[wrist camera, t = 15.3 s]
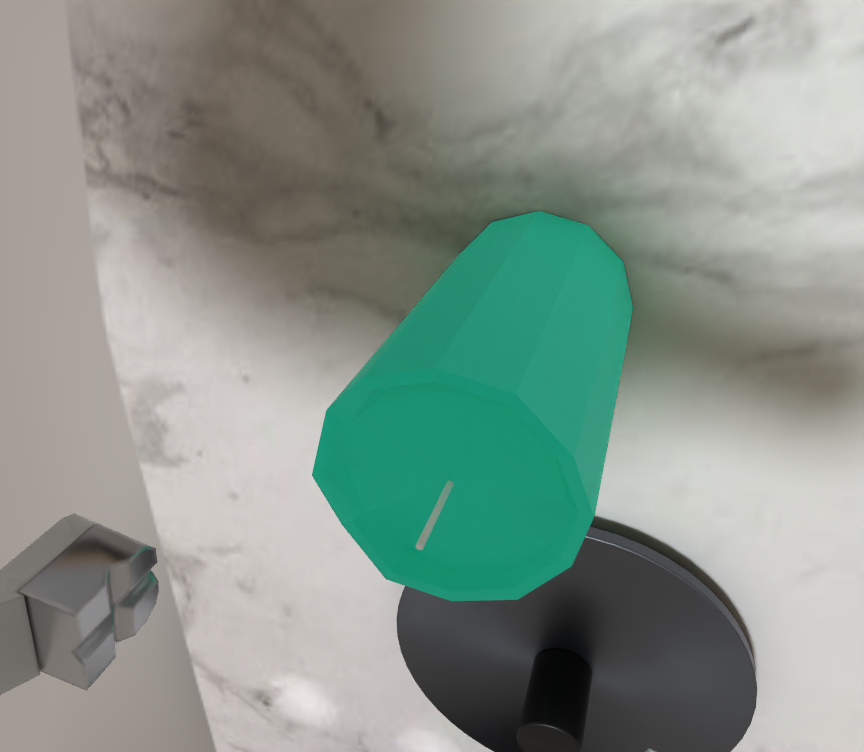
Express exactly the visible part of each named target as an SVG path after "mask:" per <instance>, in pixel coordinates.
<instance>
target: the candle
mask: <svg viewBox="0 0 864 752" xmlns="http://www.w3.org/2000/svg"><path fill="white" fill-rule="evenodd" d="M632 311H633V305H632V300H631V296H630V291H629V286H628V282H627V277H626V272H625V268H624V263H623V261H622V260H621V259H620V258H619V257H618V256H617V255H616V254H615V253H614V251H613V250H612V249H611V248H610V247H609V246H608V245H607V244H606V243H605V242H604V241H603V240H602V239H601V238H600V237H599V236H598V235H597V234H596V233H595V232H594V231H593V230H592V228H591V227H590V226H589V225H586V224H583V223H579V222H576V221H572V220H569V219H566V218H562V217H559V216H555V215H552V214H549V213H545V212H542V211H536V212H532V213H527V214H523V215H519V216H515V217H511V218H506V219H502V220H498V221H494V222H491V223H490V224H489V225H488V226H487V227H486V228H485V229H484V230H483V231H482V232H481V233H480V234H479V235H478V236H477V237H476V238H475V239H474V240H473V241H472V242H471V243H470V244H469V245H468V246H467V247H466V248H465V249H464V250H463V251H462V252H461V253H460V254H459V255H458V256H457V258H456V259H455V260H454V261H453V262H452V263H451V265H450V266H449V267H448V268H447V269H446V270H445V272H444V273H443V274H442V275H441V276H440V278H439V279H438V280H437V281H436V282H435V283H434V285H433V286H432V287H431V288H430V289H429V290H428V292H427V293H426V294H425V295H424V296H423V297H422V299H421V300H420V301H419V302H418V303H417V305H416V306H415V307H414V308H413V309H412V310H411V312H410V313H409V314H408V315H407V316H406V317H405V319H404V320H403V321H402V322H401V323H400V325H399V326H398V327H397V328H396V329H395V330H394V332H393V333H392V334H391V335H390V336H389V337H388V339H387V340H386V341H385V342H384V343H383V344H382V346H381V347H380V348H379V349H378V350H377V352H376V353H375V354H374V355H373V356H372V357H371V359H370V360H369V361H368V362H367V363H366V364H365V366H364V367H363V368H362V369H361V370H360V372H359V373H358V374H357V375H356V376H355V377H354V379H353V380H352V381H351V382H350V383H349V384H348V386H347V387H346V388H345V389H344V390H343V391H342V393H341V394H340V395H339V396H338V397H337V399H336V400H335V401H334V402H333V403H332V404H331V406H330V407H329V408H328V409H327V410H326V415H325V419H324V424H323V428H322V432H321V437H320V441H319V446H318V450H317V455H316V459H315V464H314V468H313V473H312V476H313V478H314V479H315V481H316V483H317V484H318V486H319V488H320V489H321V491H322V493H323V494H324V496H325V497H326V499H327V501H328V502H329V504H330V506H331V507H332V509H333V511H334V512H335V514H336V515H337V517H338V519H339V520H340V522H341V524H342V525H343V526H344V528H345V529H346V530H347V531H348V533H349V534H350V535H351V536H352V538H353V539H354V540H355V541H356V542H357V544H358V545H359V546H360V547H361V549H362V550H363V551H364V552H365V554H366V555H367V556H368V557H369V559H370V560H371V561H372V562H373V563H374V565H375V566H376V567H377V568H378V570H379V571H380V572H381V573H382V575H383V576H384V577H385V578H386V579H387V580H390V581H393V582H396V583H399V584H402V585H405V586H408V587H411V588H414V589H417V590H420V591H423V592H426V593H429V594H432V595H435V596H438V597H440V598H443V599H446V600H449V601H483V600H518V599H520V598H521V597H523V596H524V595H526V594H528V593H529V592H531V591H533V590H534V589H536V588H537V587H539V586H541V585H542V584H544V583H545V582H547V581H549V580H550V579H552V578H553V577H555V576H557V575H558V574H560V573H562V572H563V571H565V570H566V569H568V568H570V567H571V566H572V564H573V562H574V560H575V558H576V556H577V553H578V551H579V549H580V547H581V545H582V543H583V540H584V538H585V536H586V534H587V532H588V530H589V527H590V525H591V523H592V521H593V519H594V516H595V511H596V505H597V500H598V494H599V489H600V484H601V478H602V473H603V467H604V462H605V457H606V451H607V446H608V441H609V435H610V430H611V424H612V419H613V414H614V408H615V403H616V398H617V392H618V387H619V381H620V376H621V371H622V365H623V360H624V354H625V349H626V344H627V338H628V333H629V328H630V322H631V317H632Z"/></svg>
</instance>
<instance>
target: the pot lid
mask: <svg viewBox="0 0 864 752" xmlns="http://www.w3.org/2000/svg"><path fill="white" fill-rule="evenodd" d="M397 633H398V640H399V644H400V648H401V652H402V655H403V657H404V660H405V662H406V665H407V667H408V669H409V671H410V673H411V674H412V676H413V678H414V680H415V682H416V683H417V684H418V686H419V687H420V689H421V690H422V691H423V693H424V694H425V696H426V697H427V698H428V699H429V700H430V701H431V702H432V704H433V705H434V706H435V707H436V708H437V709H438V710H439V711H440V712H441V713H442V714H443V715H444V716H445V717H446V718H447V719H448V720H449V721H450V722H452V723H453V724H454V725H455V726H457V727H458V728H459V729H460V730H462V731H463V732H464V733H466V734H467V735H468V736H470V737H471V738H473V739H474V740H476V741H477V742H479V743H480V744H482V745H483V746H485V747H487V748H489V749H490V750H492V751H494V752H643V751H644V750H646V749H647V748H650V749H652V750H655V751H658V752H731V751H732V750H733V749H734V747H735V746H736V745H737V744H738V743H739V742H740V740H741V739H742V738H743V736H744V734H745V733H746V731H747V729H748V727H749V726H750V724H751V721H752V718H753V714H754V711H755V708H756V698H757V682H756V673H755V665H754V660H753V657H752V654H751V650H750V647H749V644H748V642H747V640H746V638H745V636H744V634H743V632H742V630H741V628H740V626H739V624H738V623H737V621H736V620H735V619H734V617H733V616H732V615H731V613H730V612H729V610H728V609H727V608H726V606H725V605H724V604H723V603H722V602H721V601H720V600H719V599H718V598H717V596H716V595H715V594H714V593H713V592H712V591H711V590H710V589H709V588H708V587H707V586H706V585H704V584H703V583H702V582H701V581H699V580H698V579H697V578H696V577H695V576H693V575H692V574H691V573H690V572H689V571H687V570H686V569H684V568H683V567H681V566H680V565H678V564H676V563H675V562H673V561H672V560H670V559H669V558H667V557H666V556H664V555H662V554H660V553H658V552H656V551H654V550H652V549H650V548H648V547H646V546H644V545H642V544H640V543H637V542H635V541H632V540H630V539H627V538H625V537H622V536H620V535H617V534H614V533H611V532H607V531H604V530H600V529H597V528H593V527H589V530H588V532H587V534H586V536H585V538H584V540H583V543H582V545H581V547H580V549H579V551H578V553H577V556H576V558H575V560H574V562H573V564H572V566H571V567H570V568H568V569H566V570H565V571H563V572H562V573H560V574H558V575H557V576H555V577H553V578H552V579H550V580H549V581H547V582H545V583H544V584H542V585H541V586H539V587H537V588H536V589H534V590H533V591H531V592H529V593H528V594H526V595H524V596H523V597H521V598H520V599H518V600H483V601H449V600H446V599H443V598H440V597H438V596H435V595H432V594H429V593H426V592H423V591H420V590H417V589H414V588H411V587H408V586H405V588H404V590H403V592H402V596H401V599H400V602H399V605H398V613H397Z"/></svg>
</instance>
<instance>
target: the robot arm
mask: <svg viewBox="0 0 864 752" xmlns="http://www.w3.org/2000/svg"><path fill="white" fill-rule="evenodd" d="M156 563H157V556H156V548H154V547H151V546H149V545H147V544H145V543H142V542H140V541H138V540H135V539H133V538H131V537H128V536H126V535H124V534H121V533H119V532H117V531H114V530H112V529H110V528H107V527H105V526H103V525H101V524H98V523H96V522H94V521H91V520H89V519H86V518H84V517H82V516H79V515H77V514H72V515H69V516H67V517H64V518H62V519H61V520H60V521H58V522H57V523H56V524H55V525H54V526H53V527H51V528H50V529H49V530H48V531H46V532H45V533H44V534H43V535H42V536H41V537H40V538H38V539H37V540H36V541H34V542H33V543H32V544H31V545H30V546H28V547H27V548H26V549H25V550H24V551H22V552H21V553H20V554H19V555H18V556H16V557H15V558H14V559H13V560H12V561H11V562H9V563H8V564H7V565H6V566H5V567H3V568H2V569H1V570H0V695H1V694H3V693H5V692H7V691H9V690H11V689H13V688H15V687H16V686H19V685H21V684H22V683H24V682H26V681H28V680H30V679H32V678H34V677H36V676H38V675H40V671H41V672H44V673H46V674H49V675H51V676H53V677H56V678H58V679H60V680H63V681H65V682H68V683H70V684H72V685H75V686H77V687H79V688H81V689H84V690H87V689H88V688H89V687H90V686H91V685H92V684H93V683H94V681H95V680H96V679H97V678H98V677H99V676H100V675H101V673H102V672H103V671H104V670H105V669H106V667H108V665H109V664H110V663H111V662H112V661H113V660H114V659H115V657H116V649H117V642H119V641H122V640H124V639H127V638H129V637H132V636H134V635H135V634H136V633H137V632H138V631H139V630H140V628H141V627H142V626H143V625H144V624H145V622H146V621H147V619H148V617H149V616H150V614H151V612H152V610H153V608H154V606H155V604H156V600H157V596H158V591H159V590H158V589H159V588H158V580H157V578H156V577H155V575H154V574H153V572H152V571H151V568H152V567H153V566H154V565H155V564H156ZM643 752H658V751H655V750H652V749H650V748H647V749H646V750H644V751H643Z"/></svg>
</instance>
